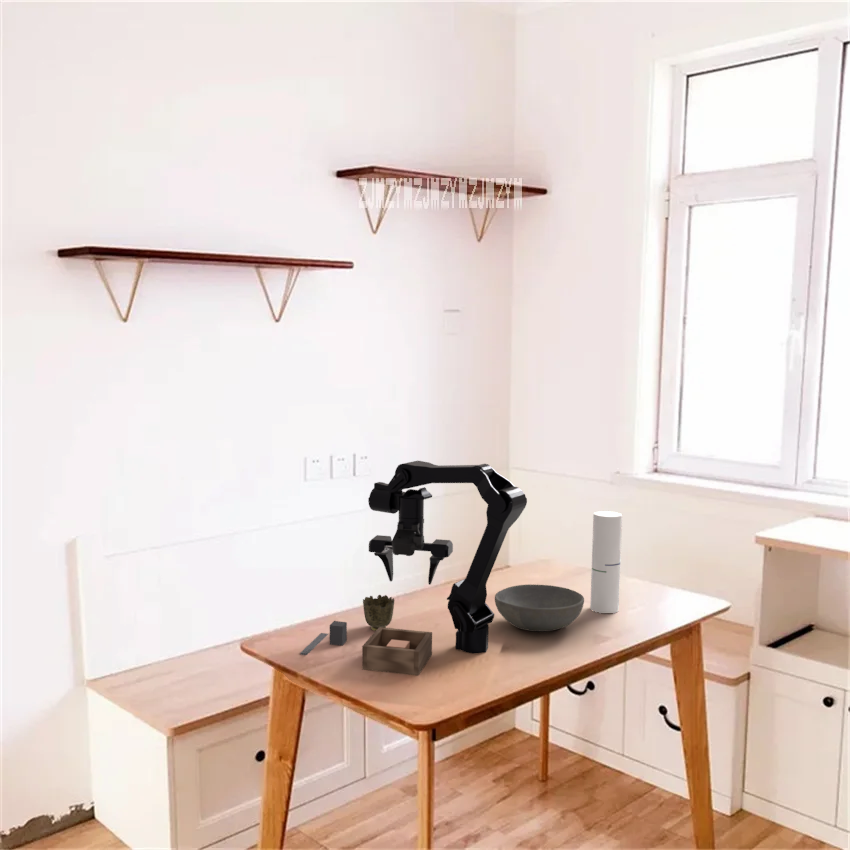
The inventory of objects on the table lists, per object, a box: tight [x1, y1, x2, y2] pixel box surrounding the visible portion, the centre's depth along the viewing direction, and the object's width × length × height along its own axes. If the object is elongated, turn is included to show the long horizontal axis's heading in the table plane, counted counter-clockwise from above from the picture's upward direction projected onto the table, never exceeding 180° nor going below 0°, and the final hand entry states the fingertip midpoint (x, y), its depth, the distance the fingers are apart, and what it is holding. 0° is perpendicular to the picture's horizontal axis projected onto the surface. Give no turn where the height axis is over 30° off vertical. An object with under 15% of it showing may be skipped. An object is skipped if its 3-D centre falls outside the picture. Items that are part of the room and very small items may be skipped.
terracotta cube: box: [386, 640, 410, 649], centre depth 188 cm, size 4×4×4 cm
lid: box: [299, 620, 348, 656], centre depth 199 cm, size 13×13×6 cm
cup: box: [362, 594, 395, 632], centre depth 208 cm, size 8×7×8 cm
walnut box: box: [361, 627, 433, 677], centre depth 188 cm, size 12×12×6 cm
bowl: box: [494, 584, 585, 632], centre depth 213 cm, size 21×21×8 cm
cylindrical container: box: [589, 510, 623, 614], centre depth 226 cm, size 7×7×25 cm
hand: (410, 582), depth 204 cm, fingers open, 9 cm apart
